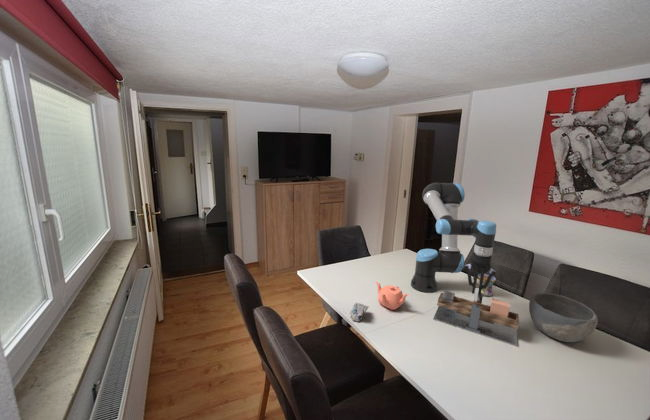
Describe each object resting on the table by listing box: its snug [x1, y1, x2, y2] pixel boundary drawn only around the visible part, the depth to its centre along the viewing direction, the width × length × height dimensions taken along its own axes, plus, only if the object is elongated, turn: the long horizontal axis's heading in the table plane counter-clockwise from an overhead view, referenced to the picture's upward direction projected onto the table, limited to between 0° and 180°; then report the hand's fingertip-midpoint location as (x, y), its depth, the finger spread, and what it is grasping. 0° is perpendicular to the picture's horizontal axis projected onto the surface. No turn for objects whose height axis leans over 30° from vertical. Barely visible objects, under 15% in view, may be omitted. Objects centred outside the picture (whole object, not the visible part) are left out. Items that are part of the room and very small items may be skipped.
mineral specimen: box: [350, 302, 369, 323], centre depth 141 cm, size 10×8×10 cm
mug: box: [472, 273, 497, 297], centre depth 169 cm, size 12×9×11 cm
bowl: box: [528, 292, 599, 343], centre depth 131 cm, size 24×24×15 cm
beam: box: [436, 290, 520, 331], centre depth 138 cm, size 34×12×7 cm, turn 58°
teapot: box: [375, 281, 410, 311], centre depth 152 cm, size 14×14×11 cm
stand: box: [432, 292, 518, 347], centre depth 138 cm, size 35×18×13 cm, turn 58°
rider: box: [490, 298, 511, 317], centre depth 133 cm, size 7×4×7 cm, turn 58°
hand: (475, 299), depth 138 cm, fingers closed
